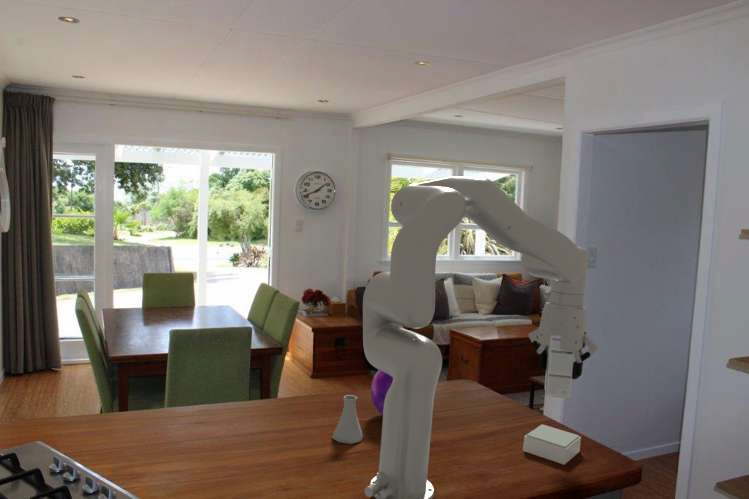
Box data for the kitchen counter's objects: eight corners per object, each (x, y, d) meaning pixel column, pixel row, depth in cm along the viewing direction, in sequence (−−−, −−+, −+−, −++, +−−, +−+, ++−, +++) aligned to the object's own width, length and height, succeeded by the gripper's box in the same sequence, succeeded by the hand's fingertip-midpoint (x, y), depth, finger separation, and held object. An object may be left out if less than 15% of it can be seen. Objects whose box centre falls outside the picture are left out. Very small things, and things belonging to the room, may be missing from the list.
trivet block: (564, 464, 137) (566, 447, 137) (522, 450, 143) (524, 434, 143) (579, 451, 145) (581, 435, 145) (539, 438, 151) (541, 423, 151)
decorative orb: (394, 434, 147) (399, 374, 146) (357, 414, 159) (361, 358, 158) (438, 423, 157) (443, 366, 155) (400, 404, 168) (404, 351, 167)
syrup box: (571, 399, 139) (577, 337, 138) (544, 395, 141) (550, 334, 139) (568, 391, 145) (574, 331, 144) (543, 388, 146) (549, 329, 145)
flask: (326, 439, 142) (328, 397, 141) (342, 429, 148) (345, 389, 147) (353, 447, 139) (356, 405, 138) (368, 437, 145) (371, 396, 144)
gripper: (524, 294, 143) (517, 368, 145) (599, 307, 132) (590, 386, 134) (537, 292, 149) (530, 362, 151) (609, 304, 138) (601, 379, 140)
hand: (558, 373), depth 142 cm, fingers closed on syrup box, 7 cm apart
